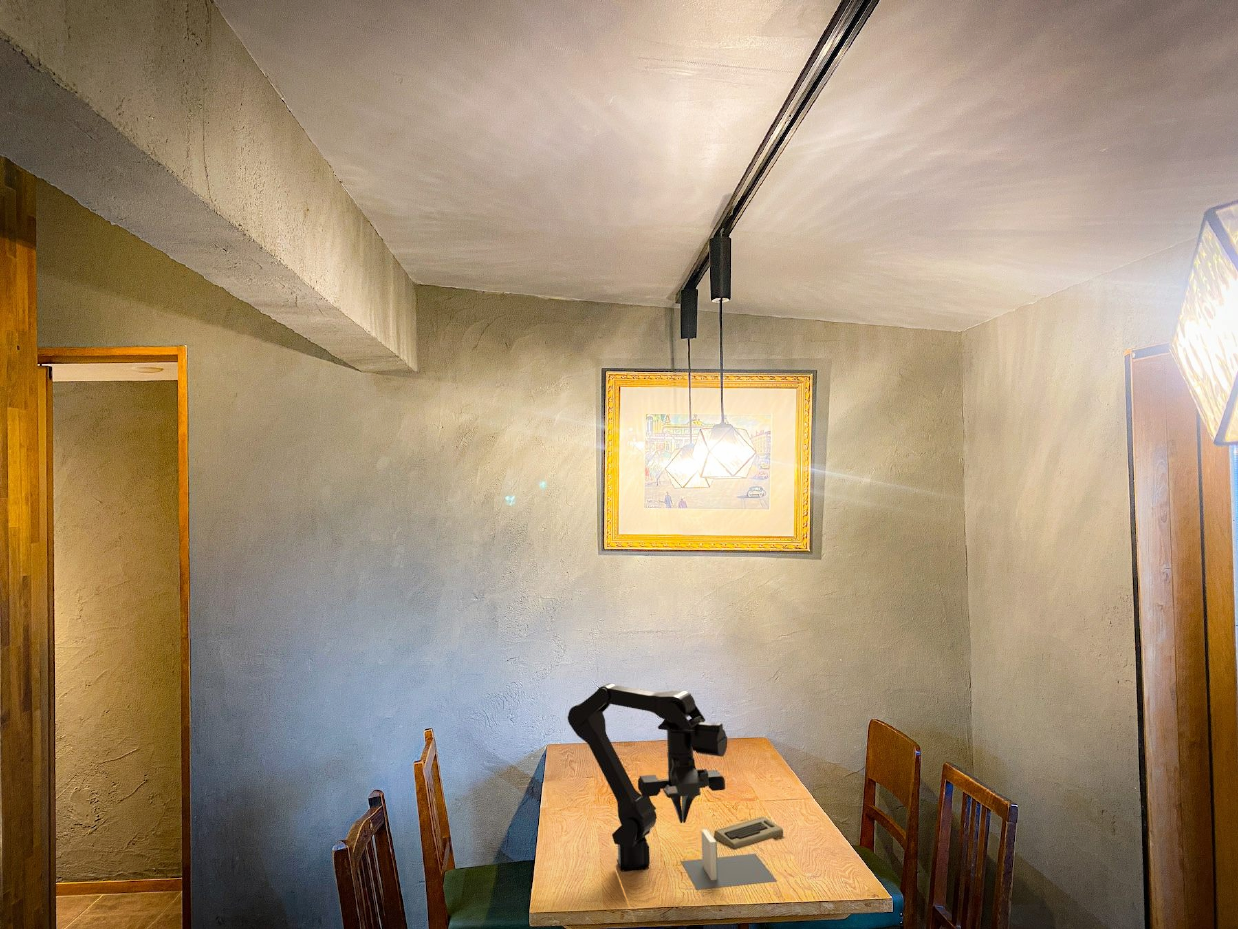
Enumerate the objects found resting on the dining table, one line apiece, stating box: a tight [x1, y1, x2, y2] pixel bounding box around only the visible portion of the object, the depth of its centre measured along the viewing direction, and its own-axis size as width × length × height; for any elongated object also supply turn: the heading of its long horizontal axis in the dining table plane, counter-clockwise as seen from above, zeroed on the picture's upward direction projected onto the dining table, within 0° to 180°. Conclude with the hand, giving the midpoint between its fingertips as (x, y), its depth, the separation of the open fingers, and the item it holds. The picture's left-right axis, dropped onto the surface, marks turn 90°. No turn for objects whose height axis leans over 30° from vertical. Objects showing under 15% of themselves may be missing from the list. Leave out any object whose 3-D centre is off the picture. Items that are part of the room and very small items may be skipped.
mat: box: [680, 853, 778, 891], centre depth 174 cm, size 18×14×1 cm
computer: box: [713, 815, 784, 849], centre depth 193 cm, size 16×8×3 cm, turn 121°
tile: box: [701, 828, 718, 880], centre depth 174 cm, size 2×7×8 cm, turn 10°
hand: (682, 822), depth 173 cm, fingers closed
